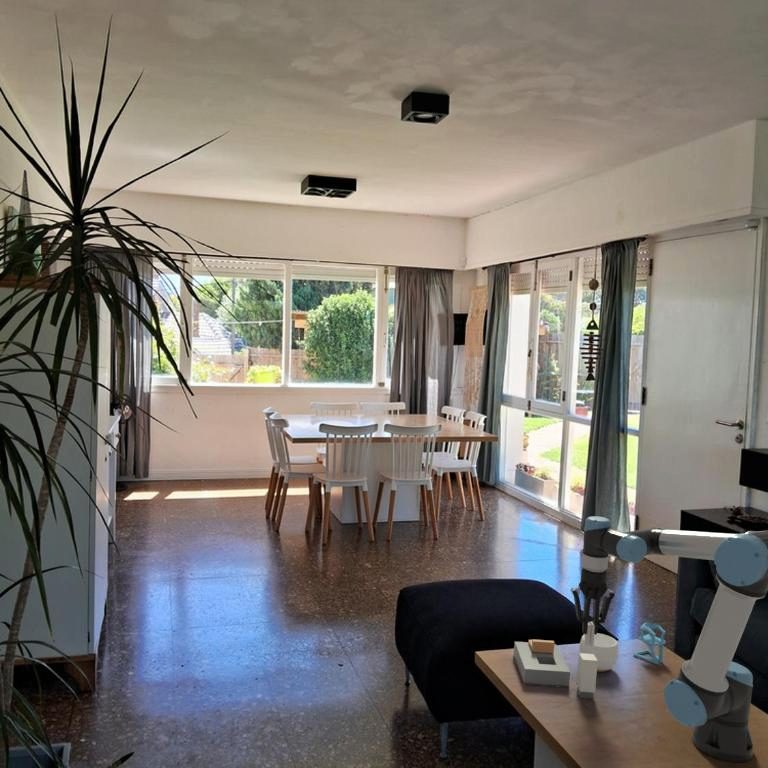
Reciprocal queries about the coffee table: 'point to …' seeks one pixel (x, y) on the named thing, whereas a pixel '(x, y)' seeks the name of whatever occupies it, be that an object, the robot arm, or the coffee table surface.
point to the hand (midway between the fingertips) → (588, 644)
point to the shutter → (542, 646)
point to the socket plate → (541, 666)
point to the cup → (602, 651)
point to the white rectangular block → (586, 675)
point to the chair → (651, 643)
